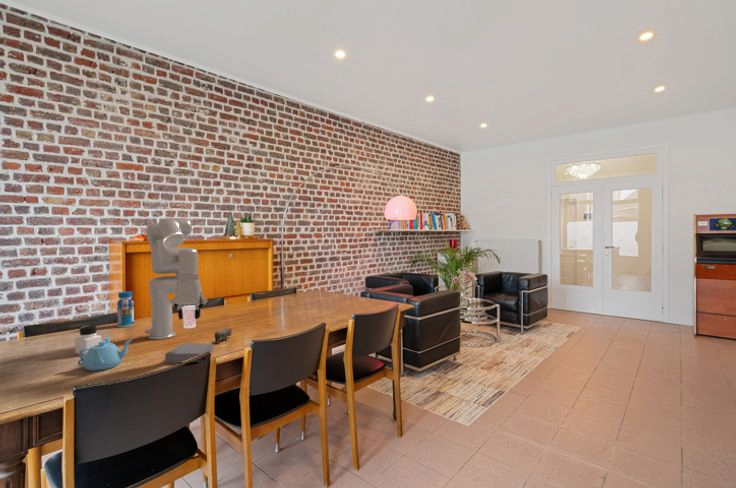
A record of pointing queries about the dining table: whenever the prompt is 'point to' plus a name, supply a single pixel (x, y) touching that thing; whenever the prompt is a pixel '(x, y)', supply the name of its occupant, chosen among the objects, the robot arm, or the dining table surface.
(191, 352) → the plinth
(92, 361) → the teapot
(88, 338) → the medicine bottle
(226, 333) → the rhino figurine
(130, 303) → the beverage bottle
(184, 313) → the beverage cup
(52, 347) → the dining table surface
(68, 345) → the dining table surface
